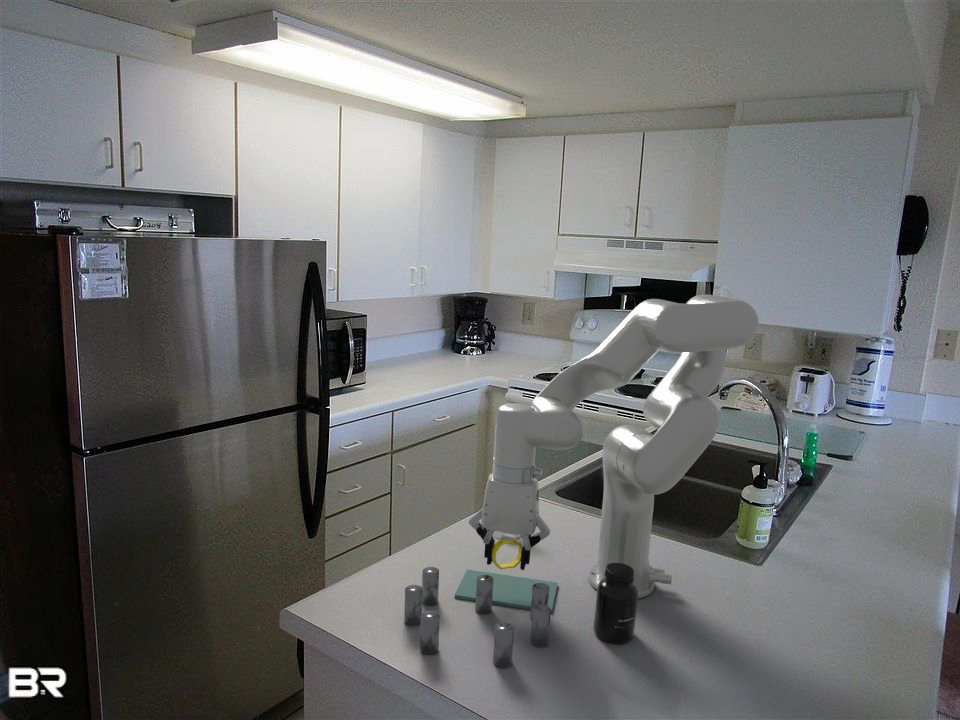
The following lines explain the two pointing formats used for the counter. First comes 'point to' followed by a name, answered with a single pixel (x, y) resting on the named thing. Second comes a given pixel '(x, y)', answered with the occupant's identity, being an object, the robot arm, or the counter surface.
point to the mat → (504, 589)
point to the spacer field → (482, 606)
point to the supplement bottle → (616, 604)
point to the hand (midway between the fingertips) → (506, 563)
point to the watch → (504, 539)
